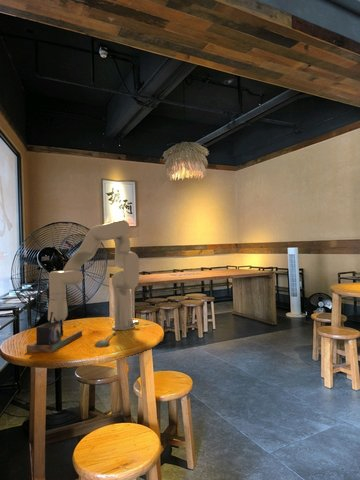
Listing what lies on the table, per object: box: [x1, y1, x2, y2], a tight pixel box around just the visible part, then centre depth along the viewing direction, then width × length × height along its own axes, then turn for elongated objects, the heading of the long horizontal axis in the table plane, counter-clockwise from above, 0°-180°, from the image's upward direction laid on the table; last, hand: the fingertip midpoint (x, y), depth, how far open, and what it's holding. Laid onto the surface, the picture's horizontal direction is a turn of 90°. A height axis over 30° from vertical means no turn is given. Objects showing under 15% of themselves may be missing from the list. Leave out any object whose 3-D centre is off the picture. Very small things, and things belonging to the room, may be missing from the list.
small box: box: [35, 321, 62, 345], centre depth 147 cm, size 11×6×10 cm, turn 170°
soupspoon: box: [94, 332, 117, 349], centre depth 155 cm, size 22×3×7 cm
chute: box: [26, 330, 83, 354], centre depth 153 cm, size 12×27×3 cm, turn 169°
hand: (59, 334), depth 156 cm, fingers closed
